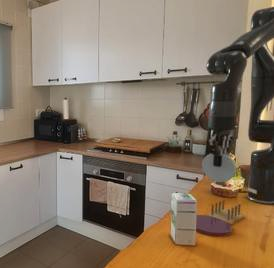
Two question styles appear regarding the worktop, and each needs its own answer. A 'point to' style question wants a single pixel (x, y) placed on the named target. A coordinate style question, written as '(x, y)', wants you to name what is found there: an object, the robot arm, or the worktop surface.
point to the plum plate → (212, 226)
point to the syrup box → (183, 218)
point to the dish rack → (226, 213)
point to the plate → (219, 168)
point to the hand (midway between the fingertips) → (218, 165)
